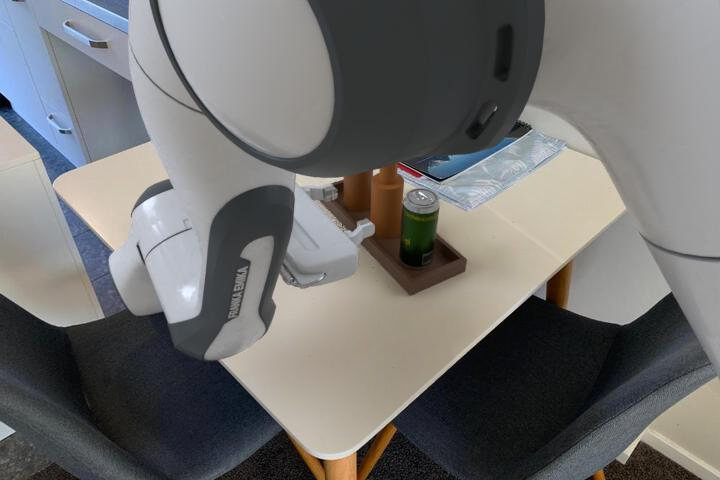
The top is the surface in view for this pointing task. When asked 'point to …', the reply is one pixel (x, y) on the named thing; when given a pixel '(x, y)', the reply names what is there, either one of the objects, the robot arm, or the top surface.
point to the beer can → (419, 228)
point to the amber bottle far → (358, 191)
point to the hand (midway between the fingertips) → (352, 207)
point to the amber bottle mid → (387, 202)
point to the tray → (387, 250)
